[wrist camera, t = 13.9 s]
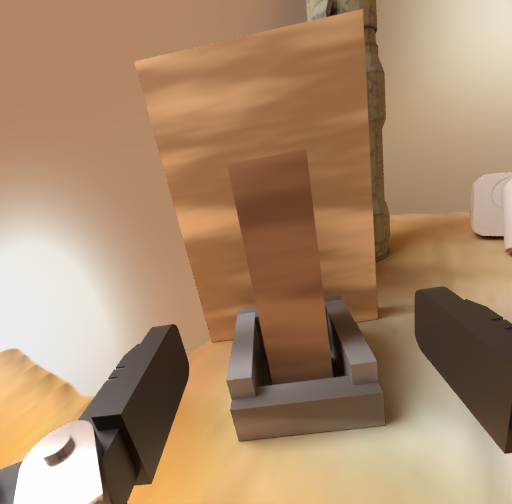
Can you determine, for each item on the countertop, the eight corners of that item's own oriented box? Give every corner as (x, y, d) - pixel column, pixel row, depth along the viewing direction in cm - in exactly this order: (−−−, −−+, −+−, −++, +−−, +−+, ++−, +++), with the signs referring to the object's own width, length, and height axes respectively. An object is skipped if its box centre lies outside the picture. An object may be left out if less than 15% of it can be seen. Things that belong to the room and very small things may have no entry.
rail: (273, 344, 25) (238, 162, 20) (317, 338, 25) (292, 151, 20) (276, 405, 19) (227, 164, 14) (335, 398, 19) (306, 149, 14)
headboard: (215, 330, 29) (145, 70, 22) (370, 308, 28) (353, 22, 20) (182, 447, 17) (4, -36, 10) (448, 418, 16) (478, -165, 8)
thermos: (315, 267, 39) (277, -43, 29) (339, 240, 49) (317, -2, 38) (382, 271, 35) (367, -100, 24) (395, 240, 44) (388, -38, 33)
